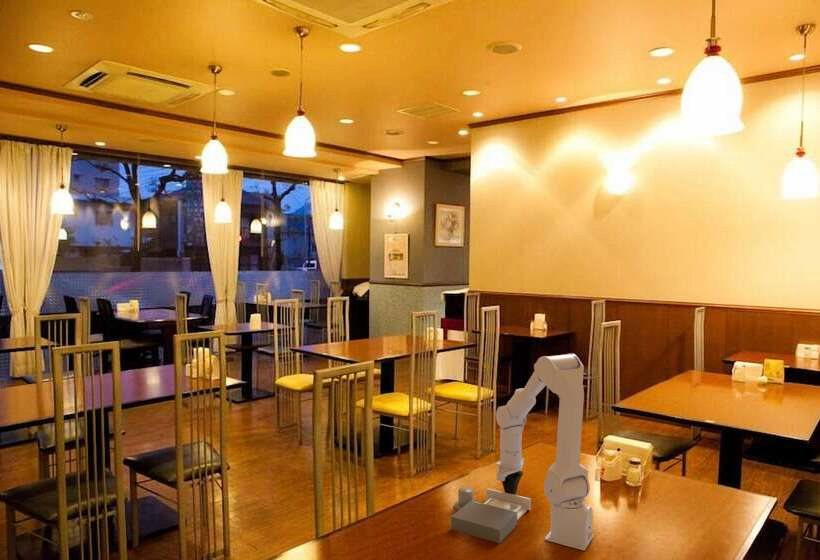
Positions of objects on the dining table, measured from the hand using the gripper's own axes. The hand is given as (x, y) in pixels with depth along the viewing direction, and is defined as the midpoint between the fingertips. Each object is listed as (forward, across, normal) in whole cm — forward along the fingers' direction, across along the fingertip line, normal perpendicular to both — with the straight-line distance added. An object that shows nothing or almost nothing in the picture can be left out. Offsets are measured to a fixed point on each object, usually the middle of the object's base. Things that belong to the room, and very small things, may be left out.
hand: (510, 498), depth 158 cm
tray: (+1, +8, 0) cm, 8 cm away
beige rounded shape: (+1, +7, 0) cm, 7 cm away
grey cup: (+1, +9, -9) cm, 13 cm away
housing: (+1, +17, 0) cm, 17 cm away
